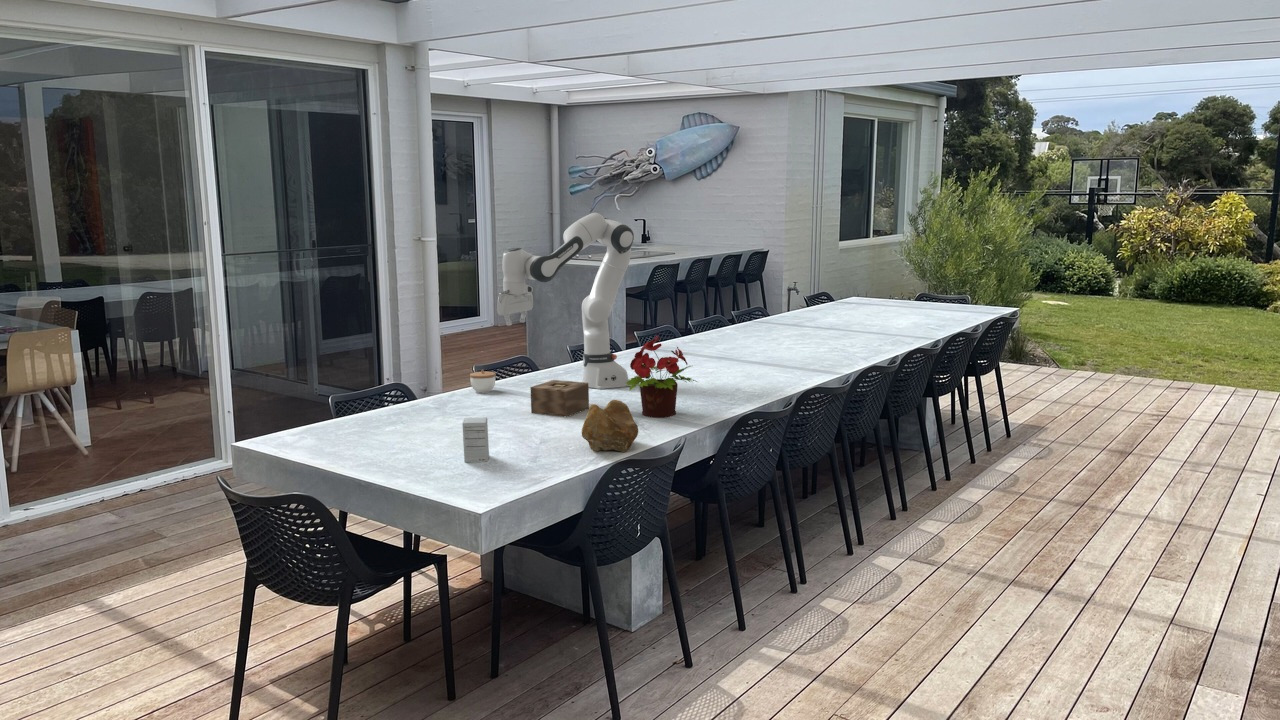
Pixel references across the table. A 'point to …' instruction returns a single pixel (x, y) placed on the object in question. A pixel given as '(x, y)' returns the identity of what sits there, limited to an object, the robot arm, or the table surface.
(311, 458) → the table surface
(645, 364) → the potted plant
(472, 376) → the lidded jar
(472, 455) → the supplement box
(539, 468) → the table surface
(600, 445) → the rough brown rock
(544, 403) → the box
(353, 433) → the table surface
